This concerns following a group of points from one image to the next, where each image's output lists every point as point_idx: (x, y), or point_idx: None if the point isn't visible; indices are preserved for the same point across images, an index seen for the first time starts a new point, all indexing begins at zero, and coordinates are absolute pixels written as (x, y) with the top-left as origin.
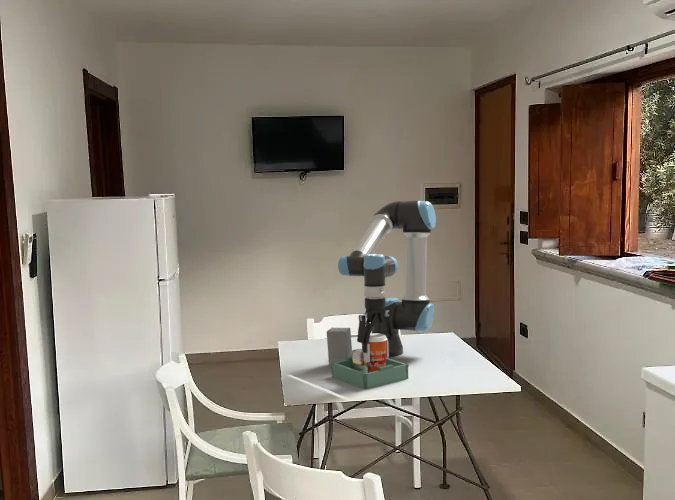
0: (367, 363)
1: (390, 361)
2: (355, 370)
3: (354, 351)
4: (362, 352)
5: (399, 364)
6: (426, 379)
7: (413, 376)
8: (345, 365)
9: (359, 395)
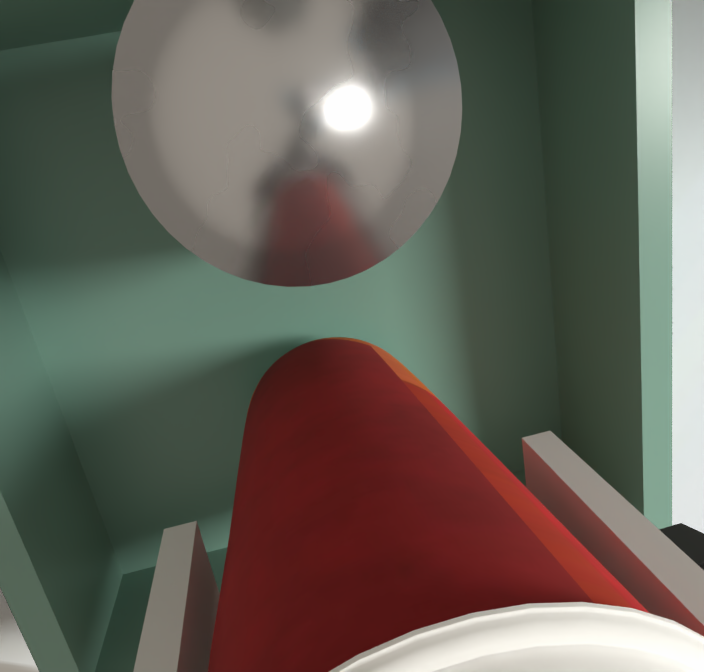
0: (237, 478)
1: (629, 309)
2: (10, 554)
3: (154, 104)
4: (275, 273)
5: (630, 459)
6: (698, 492)
7: (679, 381)
8: (58, 8)
9: (19, 658)
